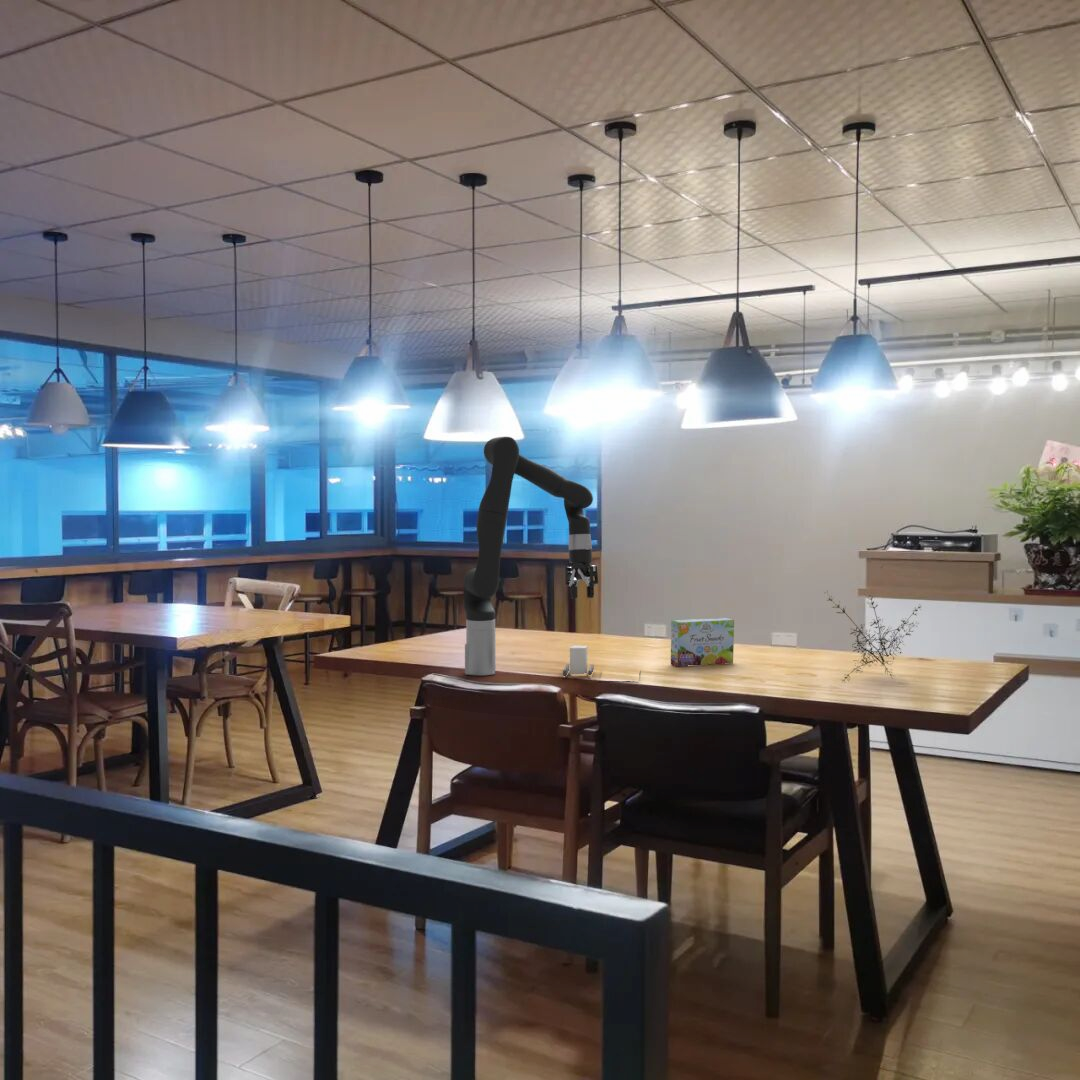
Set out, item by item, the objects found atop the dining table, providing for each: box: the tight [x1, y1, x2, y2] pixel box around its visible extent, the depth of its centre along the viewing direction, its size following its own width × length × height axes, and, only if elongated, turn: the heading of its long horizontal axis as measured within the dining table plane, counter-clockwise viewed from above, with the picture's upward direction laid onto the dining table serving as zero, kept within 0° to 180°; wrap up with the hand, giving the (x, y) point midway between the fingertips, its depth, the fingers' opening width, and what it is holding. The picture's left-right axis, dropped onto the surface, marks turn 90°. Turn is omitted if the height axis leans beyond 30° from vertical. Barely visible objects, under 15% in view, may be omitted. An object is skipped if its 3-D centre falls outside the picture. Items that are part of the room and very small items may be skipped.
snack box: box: [670, 617, 735, 667], centre depth 351 cm, size 21×6×15 cm, turn 112°
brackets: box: [562, 663, 595, 677], centre depth 331 cm, size 9×12×2 cm
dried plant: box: [824, 591, 923, 683], centre depth 312 cm, size 30×31×45 cm
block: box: [569, 645, 588, 675], centre depth 330 cm, size 5×5×9 cm
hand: (582, 597), depth 346 cm, fingers open, 8 cm apart
